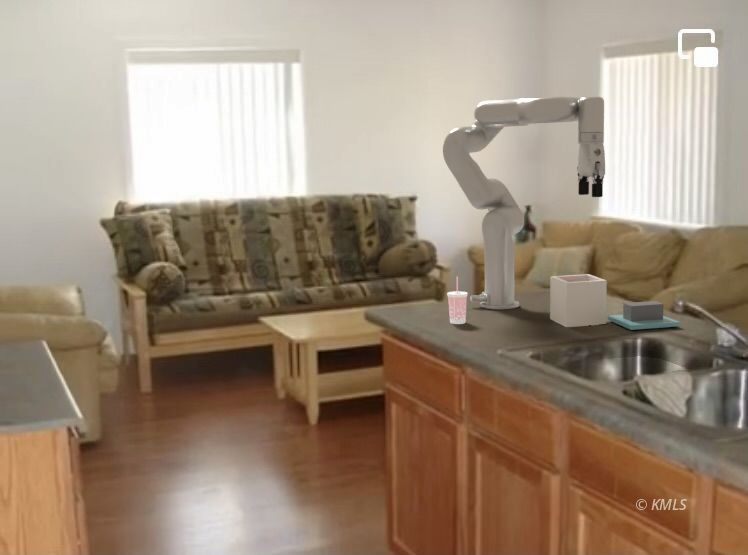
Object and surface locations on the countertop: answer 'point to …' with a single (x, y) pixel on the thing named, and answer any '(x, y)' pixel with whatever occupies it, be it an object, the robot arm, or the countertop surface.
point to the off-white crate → (578, 300)
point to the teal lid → (643, 316)
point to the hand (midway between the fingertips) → (590, 195)
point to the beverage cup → (457, 305)
